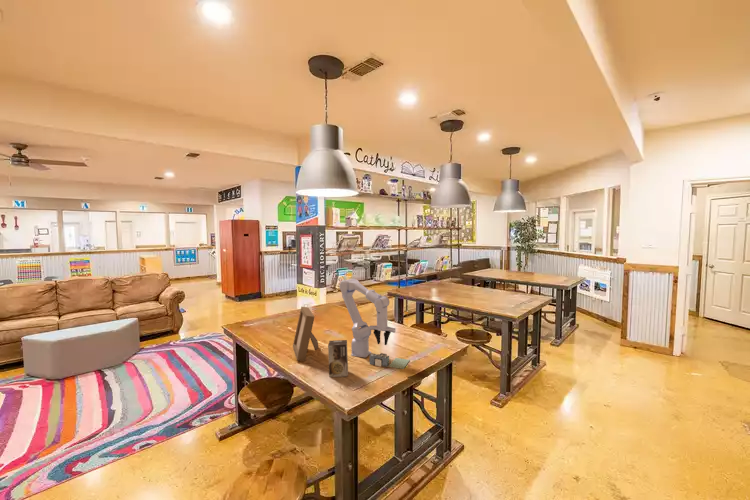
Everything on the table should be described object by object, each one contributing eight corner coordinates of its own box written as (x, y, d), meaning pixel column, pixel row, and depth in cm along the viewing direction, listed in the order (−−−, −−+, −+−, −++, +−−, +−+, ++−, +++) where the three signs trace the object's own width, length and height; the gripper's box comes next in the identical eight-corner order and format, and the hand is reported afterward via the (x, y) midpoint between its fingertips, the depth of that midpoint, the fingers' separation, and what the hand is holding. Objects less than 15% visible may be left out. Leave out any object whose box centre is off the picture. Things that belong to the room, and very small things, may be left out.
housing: (369, 364, 167) (369, 354, 166) (371, 361, 170) (371, 352, 169) (387, 367, 163) (387, 357, 163) (389, 364, 166) (389, 355, 165)
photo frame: (297, 362, 171) (296, 316, 169) (292, 347, 191) (291, 307, 189) (324, 358, 176) (323, 314, 174) (317, 344, 196) (316, 305, 195)
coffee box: (348, 370, 160) (347, 339, 159) (347, 376, 153) (346, 344, 152) (330, 371, 159) (329, 340, 158) (328, 377, 153) (327, 344, 152)
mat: (388, 366, 164) (388, 365, 164) (395, 358, 174) (395, 357, 174) (403, 368, 161) (403, 368, 161) (409, 360, 171) (409, 359, 171)
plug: (374, 365, 165) (374, 359, 165) (380, 359, 173) (380, 353, 173) (381, 366, 164) (381, 360, 163) (386, 360, 172) (386, 354, 171)
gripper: (366, 320, 168) (367, 344, 169) (392, 322, 163) (392, 348, 164) (371, 316, 175) (372, 340, 176) (396, 319, 169) (397, 343, 170)
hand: (382, 344), depth 170 cm, fingers open, 3 cm apart
